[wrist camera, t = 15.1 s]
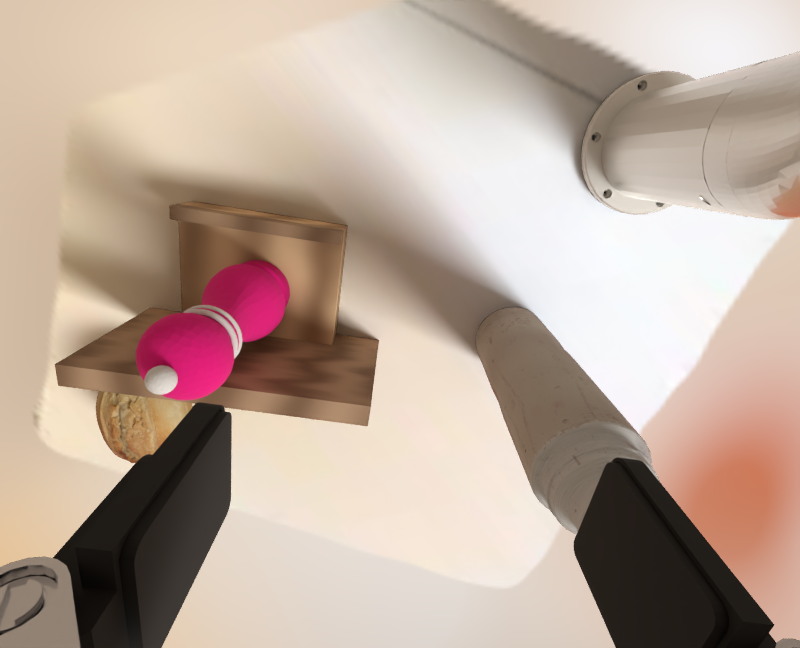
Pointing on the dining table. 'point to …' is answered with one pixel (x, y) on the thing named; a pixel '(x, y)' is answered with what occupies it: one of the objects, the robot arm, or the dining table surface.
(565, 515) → the thermos bottle
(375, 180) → the dining table surface
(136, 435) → the bread roll
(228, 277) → the pepper mill
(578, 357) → the dining table surface
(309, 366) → the wall shelf
